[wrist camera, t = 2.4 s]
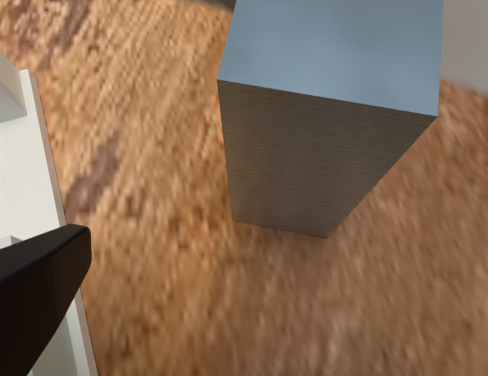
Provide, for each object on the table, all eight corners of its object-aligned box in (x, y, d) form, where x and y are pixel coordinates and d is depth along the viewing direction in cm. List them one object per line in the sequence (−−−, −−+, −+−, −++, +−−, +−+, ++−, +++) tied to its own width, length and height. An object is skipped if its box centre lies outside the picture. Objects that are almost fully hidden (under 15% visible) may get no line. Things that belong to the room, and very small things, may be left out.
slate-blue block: (327, 238, 21) (437, 116, 9) (232, 220, 22) (216, 79, 9) (336, 167, 23) (444, -23, 10) (247, 152, 23) (249, -52, 11)
